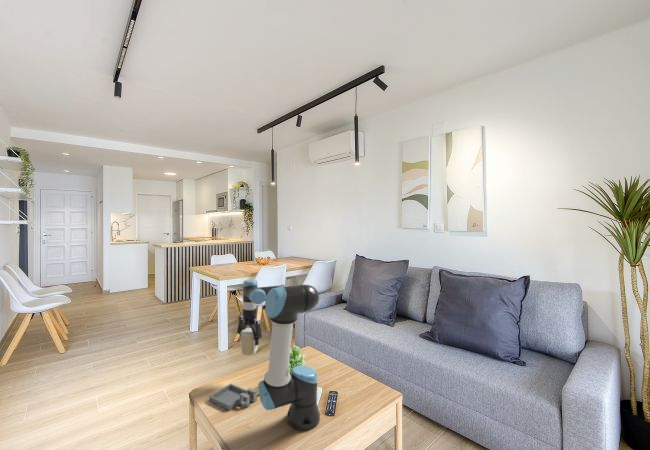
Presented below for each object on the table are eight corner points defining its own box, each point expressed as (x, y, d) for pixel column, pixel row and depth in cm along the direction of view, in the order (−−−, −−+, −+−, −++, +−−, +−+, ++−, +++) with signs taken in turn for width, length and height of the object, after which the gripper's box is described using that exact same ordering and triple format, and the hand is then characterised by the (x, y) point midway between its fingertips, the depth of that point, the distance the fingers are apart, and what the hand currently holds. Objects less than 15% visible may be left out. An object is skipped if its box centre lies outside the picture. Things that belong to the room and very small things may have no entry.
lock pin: (266, 384, 167) (267, 377, 167) (272, 386, 165) (272, 379, 165) (247, 397, 154) (247, 390, 154) (253, 400, 152) (253, 393, 152)
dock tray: (258, 399, 155) (258, 389, 155) (237, 415, 143) (237, 404, 142) (230, 388, 164) (230, 378, 164) (209, 401, 152) (209, 391, 152)
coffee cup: (259, 349, 174) (260, 328, 173) (254, 356, 164) (254, 334, 164) (243, 347, 175) (244, 327, 174) (237, 355, 165) (237, 333, 165)
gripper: (269, 309, 167) (268, 350, 167) (240, 303, 177) (239, 341, 178) (260, 313, 160) (259, 356, 161) (230, 306, 171) (229, 346, 171)
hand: (248, 348), depth 169 cm, fingers closed on coffee cup, 9 cm apart
